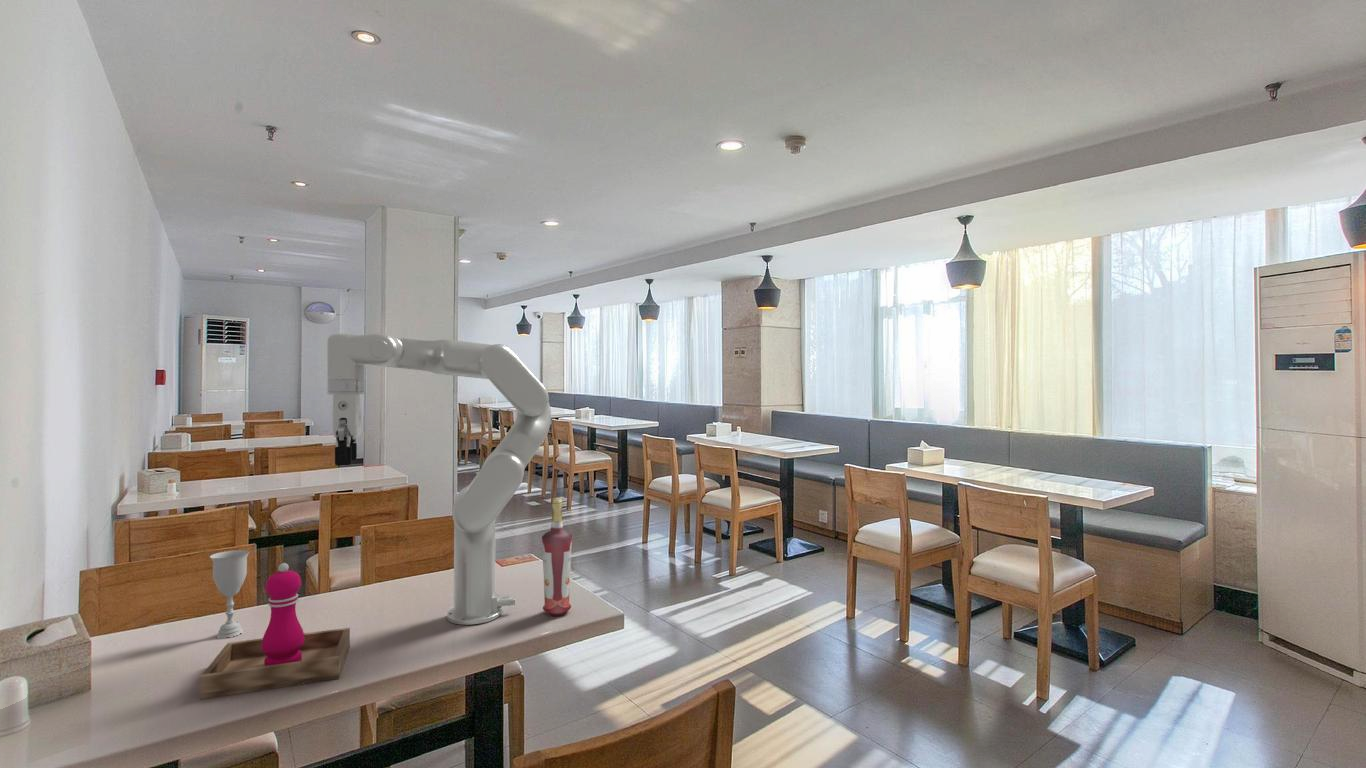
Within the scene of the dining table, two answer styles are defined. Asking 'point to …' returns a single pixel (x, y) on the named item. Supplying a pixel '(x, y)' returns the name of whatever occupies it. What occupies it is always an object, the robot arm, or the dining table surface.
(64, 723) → the dining table surface
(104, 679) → the dining table surface
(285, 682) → the serving tray
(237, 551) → the chalice
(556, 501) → the liquor
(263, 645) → the pepper mill
